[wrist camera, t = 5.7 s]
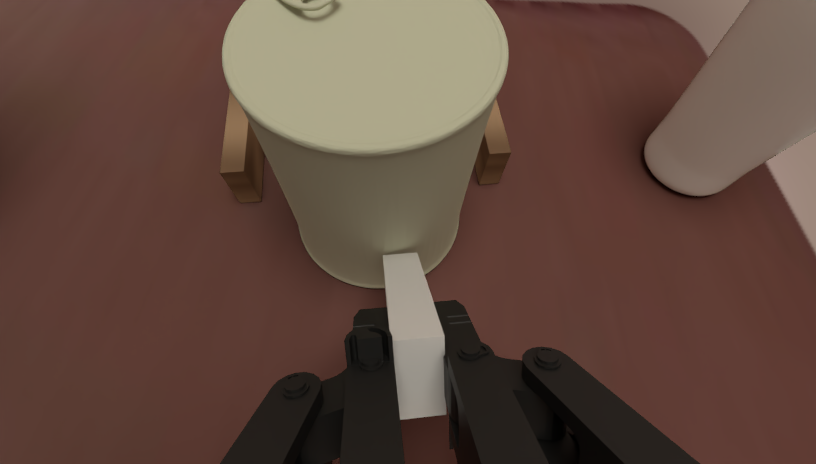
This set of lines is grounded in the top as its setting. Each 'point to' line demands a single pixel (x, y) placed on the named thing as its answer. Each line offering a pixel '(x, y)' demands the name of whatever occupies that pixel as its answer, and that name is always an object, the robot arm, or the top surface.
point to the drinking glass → (741, 101)
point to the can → (368, 118)
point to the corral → (247, 154)
